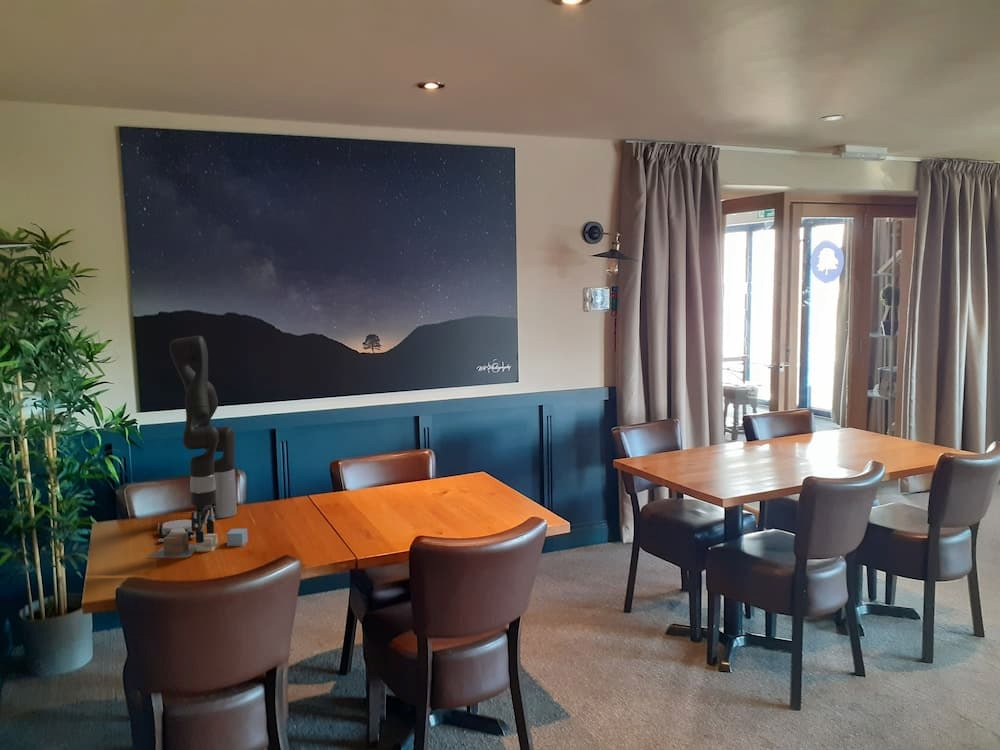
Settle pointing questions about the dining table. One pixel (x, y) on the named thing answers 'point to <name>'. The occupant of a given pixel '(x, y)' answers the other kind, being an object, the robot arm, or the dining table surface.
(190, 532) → the robot toy
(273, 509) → the dining table surface
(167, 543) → the walnut block
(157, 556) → the slate pad
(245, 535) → the blue block
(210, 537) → the beech block
